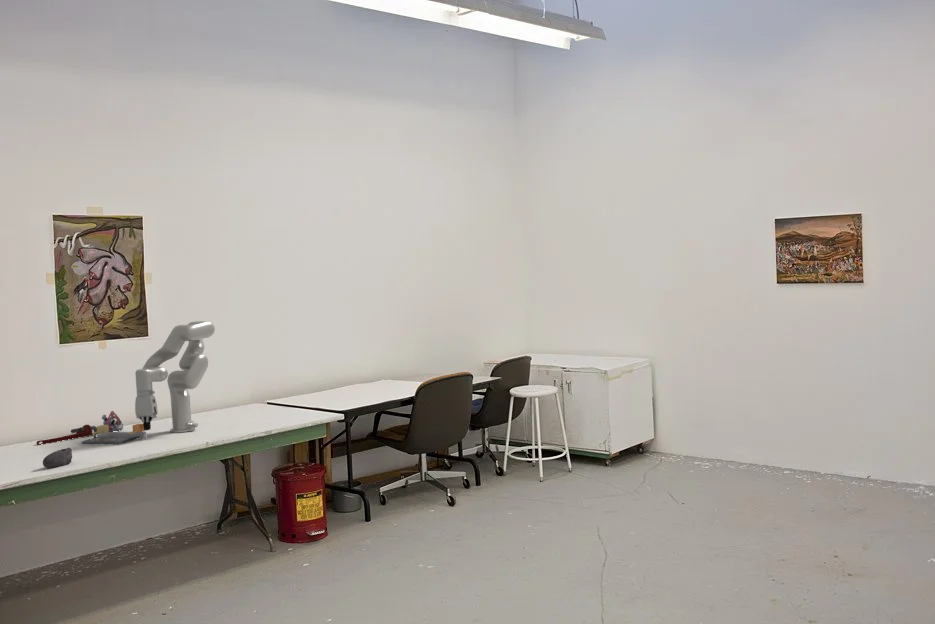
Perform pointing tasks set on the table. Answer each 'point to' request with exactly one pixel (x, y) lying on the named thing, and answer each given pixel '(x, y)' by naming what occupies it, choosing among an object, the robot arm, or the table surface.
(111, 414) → the red grey carburetor
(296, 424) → the table surface
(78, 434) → the pipe wrench
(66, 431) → the table surface
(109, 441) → the bolt plate
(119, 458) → the table surface
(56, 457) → the perforated stone tool
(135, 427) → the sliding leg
